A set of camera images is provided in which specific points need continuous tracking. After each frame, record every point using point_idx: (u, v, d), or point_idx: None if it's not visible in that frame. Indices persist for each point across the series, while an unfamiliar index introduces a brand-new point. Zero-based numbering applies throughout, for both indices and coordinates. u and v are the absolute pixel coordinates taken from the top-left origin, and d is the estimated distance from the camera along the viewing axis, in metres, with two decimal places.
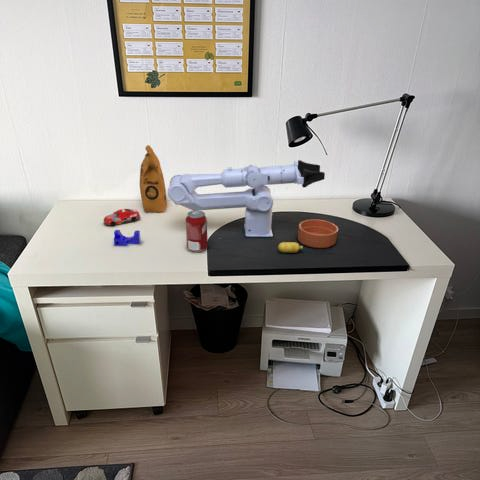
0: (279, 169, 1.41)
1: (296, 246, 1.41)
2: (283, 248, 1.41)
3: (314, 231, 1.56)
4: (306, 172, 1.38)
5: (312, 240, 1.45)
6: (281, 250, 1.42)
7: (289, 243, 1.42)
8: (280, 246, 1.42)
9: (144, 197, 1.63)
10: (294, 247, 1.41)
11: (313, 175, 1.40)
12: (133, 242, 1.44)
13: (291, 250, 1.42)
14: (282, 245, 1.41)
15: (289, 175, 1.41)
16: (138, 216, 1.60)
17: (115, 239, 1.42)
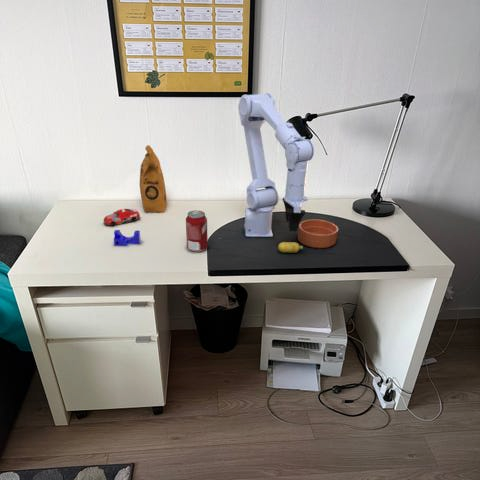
0: (296, 184, 1.28)
1: (296, 246, 1.41)
2: (283, 248, 1.41)
3: (314, 231, 1.56)
4: (303, 214, 1.30)
5: (312, 240, 1.45)
6: (281, 250, 1.42)
7: (289, 243, 1.42)
8: (280, 246, 1.42)
9: (144, 197, 1.63)
10: (294, 247, 1.41)
11: (296, 220, 1.33)
12: (133, 242, 1.44)
13: (291, 250, 1.42)
14: (282, 245, 1.41)
15: (298, 194, 1.30)
16: (138, 216, 1.60)
17: (115, 239, 1.42)
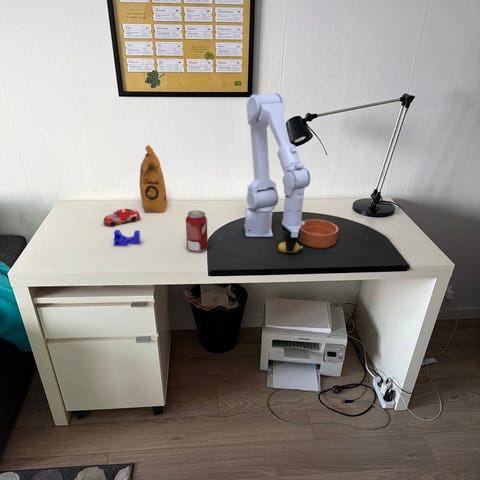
0: (293, 209, 1.32)
1: (296, 246, 1.41)
2: (283, 248, 1.41)
3: (314, 231, 1.56)
4: (299, 236, 1.36)
5: (312, 240, 1.45)
6: (281, 250, 1.42)
7: None
8: (280, 246, 1.42)
9: (144, 197, 1.63)
10: (294, 247, 1.41)
11: (292, 241, 1.39)
12: (133, 242, 1.44)
13: None
14: (282, 245, 1.41)
15: (295, 219, 1.34)
16: (138, 216, 1.60)
17: (115, 239, 1.42)
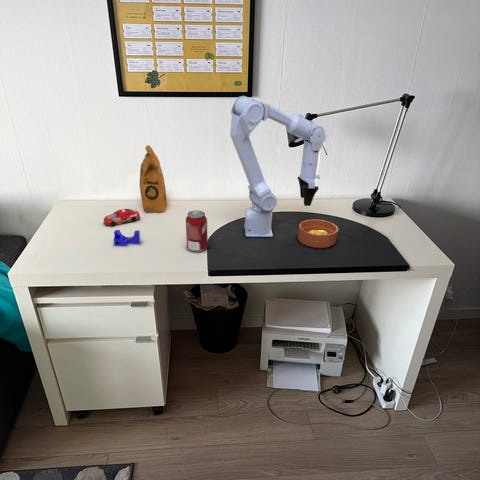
0: (318, 161, 1.47)
1: None
2: None
3: None
4: (316, 190, 1.47)
5: (312, 240, 1.45)
6: None
7: (318, 232, 1.48)
8: None
9: (144, 197, 1.63)
10: None
11: (310, 195, 1.50)
12: (133, 242, 1.44)
13: None
14: None
15: (312, 172, 1.47)
16: (138, 216, 1.60)
17: (115, 239, 1.42)
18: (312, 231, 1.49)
